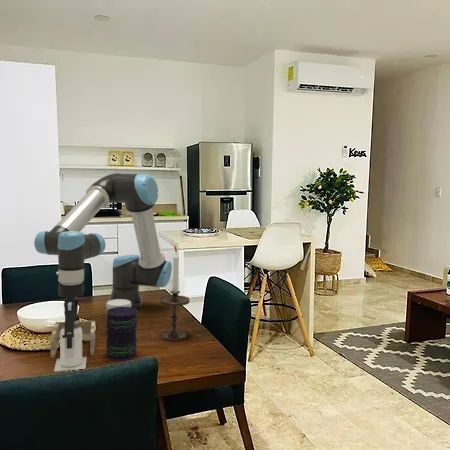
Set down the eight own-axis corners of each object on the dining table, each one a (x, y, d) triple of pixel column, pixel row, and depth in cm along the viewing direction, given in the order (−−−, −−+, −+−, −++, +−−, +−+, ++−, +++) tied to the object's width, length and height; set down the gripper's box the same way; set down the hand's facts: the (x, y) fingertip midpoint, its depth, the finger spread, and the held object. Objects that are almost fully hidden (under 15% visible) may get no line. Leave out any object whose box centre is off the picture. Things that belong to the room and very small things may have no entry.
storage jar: (141, 351, 155) (142, 308, 153) (129, 362, 145) (129, 316, 144) (114, 347, 157) (115, 305, 155) (100, 358, 147) (100, 313, 146)
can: (64, 358, 145) (64, 322, 144) (85, 359, 145) (85, 323, 144) (56, 367, 139) (56, 329, 137) (78, 368, 139) (78, 329, 137)
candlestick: (159, 342, 164) (161, 246, 160) (159, 332, 174) (161, 241, 171) (189, 341, 165) (192, 246, 162) (187, 331, 176) (190, 242, 172)
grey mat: (57, 360, 145) (57, 358, 145) (86, 358, 147) (86, 357, 147) (54, 371, 136) (54, 370, 136) (85, 369, 139) (85, 368, 139)
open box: (55, 341, 161) (55, 322, 160) (95, 339, 164) (95, 320, 164) (50, 358, 146) (50, 336, 146) (93, 355, 150) (94, 334, 149)
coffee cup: (124, 338, 166) (125, 306, 165) (101, 336, 168) (101, 304, 167) (134, 330, 175) (135, 300, 174) (112, 328, 177) (112, 297, 176)
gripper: (62, 273, 150) (62, 335, 152) (53, 293, 126) (54, 366, 128) (85, 273, 152) (85, 334, 154) (81, 292, 128) (81, 364, 130)
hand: (71, 349), depth 141 cm, fingers open, 13 cm apart
